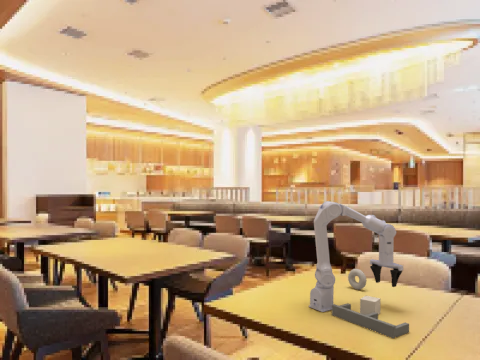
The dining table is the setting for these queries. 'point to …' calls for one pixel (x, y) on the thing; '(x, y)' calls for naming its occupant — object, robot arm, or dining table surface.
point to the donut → (353, 282)
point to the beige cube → (369, 305)
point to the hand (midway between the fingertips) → (385, 284)
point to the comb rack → (369, 321)
